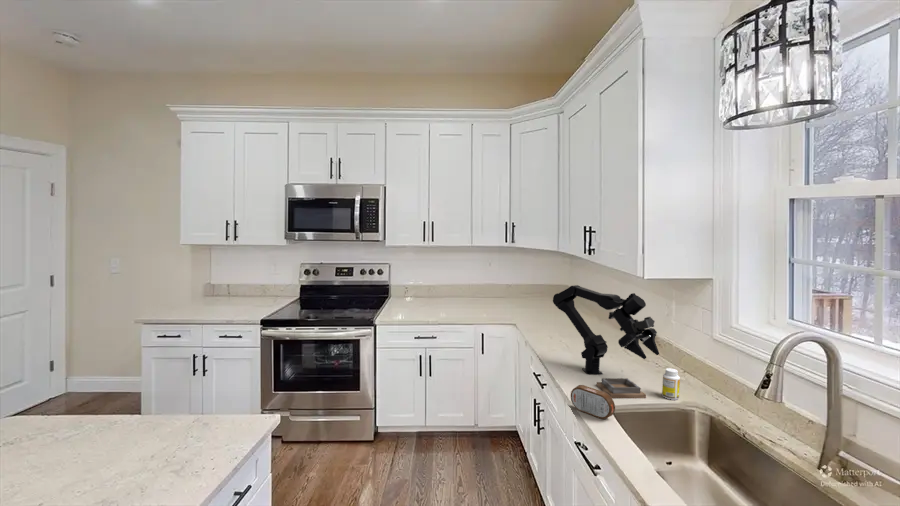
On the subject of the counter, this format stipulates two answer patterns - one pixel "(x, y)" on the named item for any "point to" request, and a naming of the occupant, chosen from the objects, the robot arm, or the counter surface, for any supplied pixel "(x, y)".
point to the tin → (592, 401)
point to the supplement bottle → (671, 384)
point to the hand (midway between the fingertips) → (651, 356)
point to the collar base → (620, 388)
